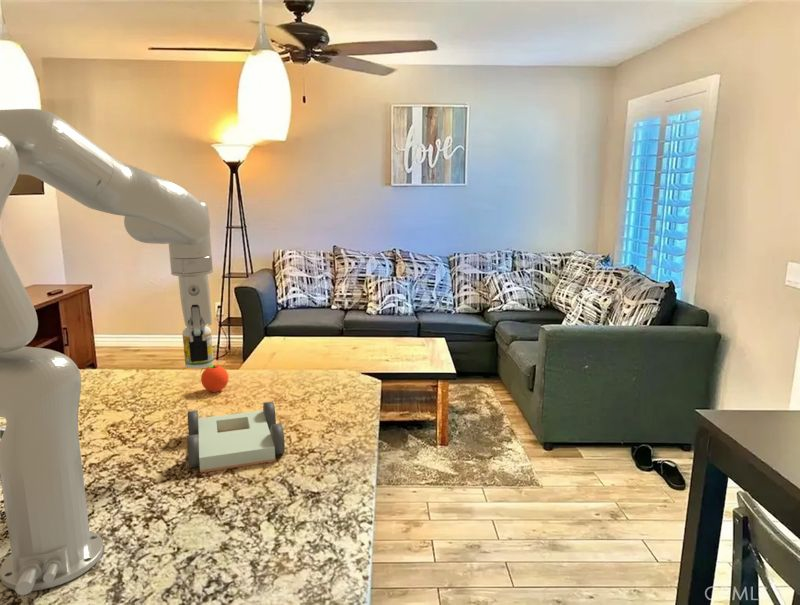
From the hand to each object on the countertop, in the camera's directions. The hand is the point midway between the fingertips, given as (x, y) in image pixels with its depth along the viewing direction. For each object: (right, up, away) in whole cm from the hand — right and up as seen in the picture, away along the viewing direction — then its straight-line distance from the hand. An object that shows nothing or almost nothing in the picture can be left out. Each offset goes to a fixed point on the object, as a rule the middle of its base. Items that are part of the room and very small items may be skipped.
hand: (199, 355), depth 113 cm
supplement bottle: (0, -2, 0) cm, 2 cm away
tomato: (-10, -13, +39) cm, 42 cm away
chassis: (+5, -20, +6) cm, 21 cm away
